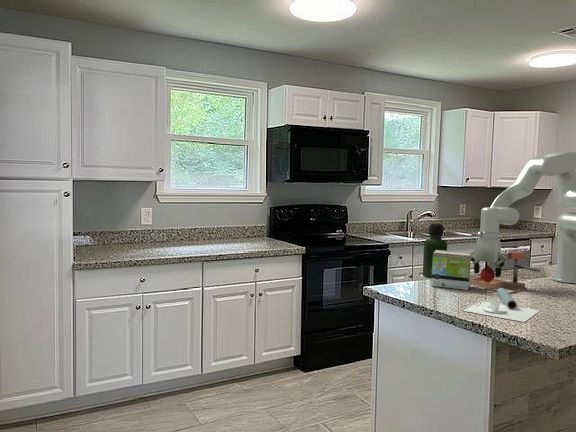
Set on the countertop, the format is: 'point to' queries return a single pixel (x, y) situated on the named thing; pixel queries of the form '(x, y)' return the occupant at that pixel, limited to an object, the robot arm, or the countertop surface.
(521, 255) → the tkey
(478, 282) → the dish
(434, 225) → the green bottle
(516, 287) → the tan frame with plate
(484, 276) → the onion
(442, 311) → the countertop surface
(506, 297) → the aluminum foil
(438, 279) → the tea box
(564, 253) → the robot arm
